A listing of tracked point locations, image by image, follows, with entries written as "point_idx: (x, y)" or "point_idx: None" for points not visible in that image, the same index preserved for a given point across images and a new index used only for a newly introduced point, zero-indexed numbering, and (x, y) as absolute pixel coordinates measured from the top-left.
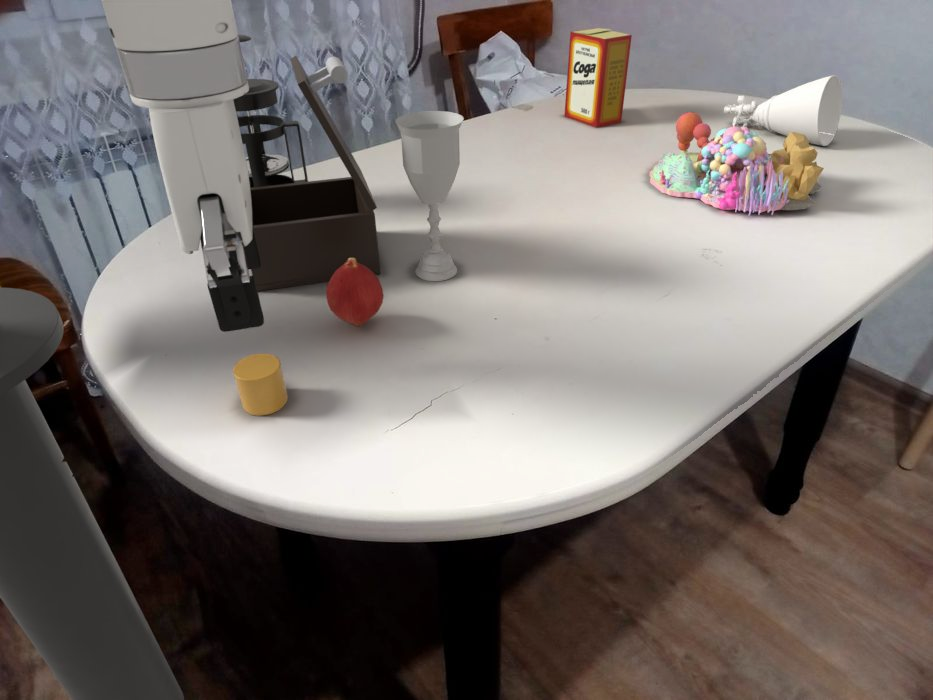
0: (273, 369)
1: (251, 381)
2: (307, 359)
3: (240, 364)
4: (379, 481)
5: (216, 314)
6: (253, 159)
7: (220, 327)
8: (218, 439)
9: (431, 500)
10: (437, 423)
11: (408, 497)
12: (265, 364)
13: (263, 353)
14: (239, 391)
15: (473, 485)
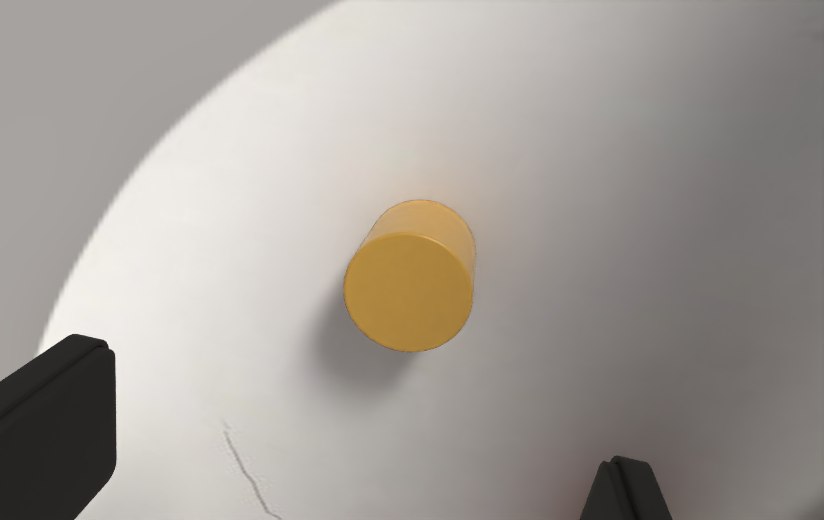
0: (369, 328)
1: (348, 265)
2: (542, 379)
3: (437, 258)
4: None
5: (15, 374)
6: None
7: (69, 340)
8: (330, 122)
9: None
10: (214, 498)
11: None
12: (405, 316)
13: (463, 325)
14: (397, 217)
15: None
